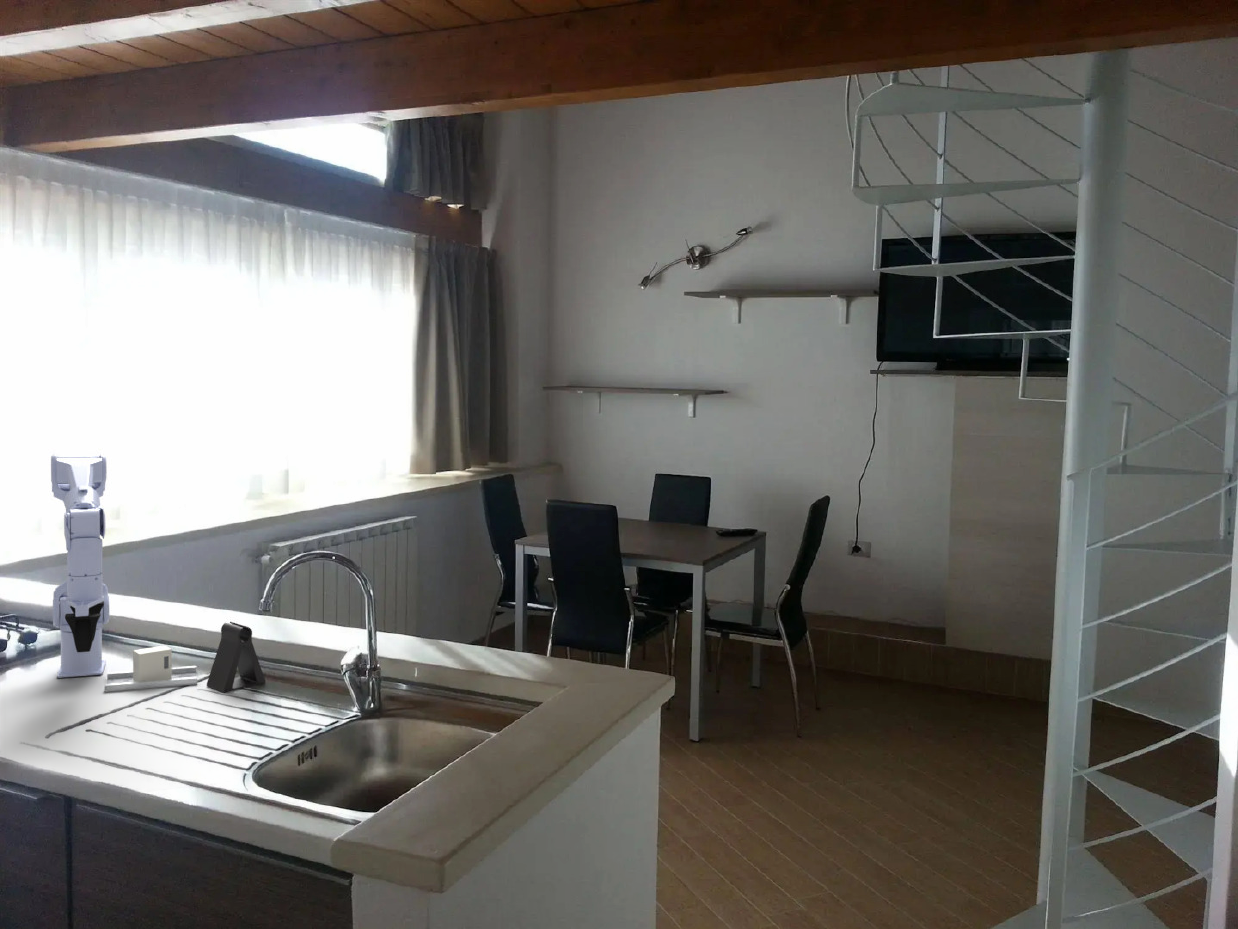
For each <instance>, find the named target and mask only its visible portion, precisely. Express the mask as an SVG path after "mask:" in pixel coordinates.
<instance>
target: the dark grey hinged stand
mask: <svg viewBox="0 0 1238 929" xmlns="http://www.w3.org/2000/svg"><path fill="white" fill-rule="evenodd" d="M220 634H221V636H220V638H221V639H220V641H219V645H218V648H217V651H216V654H215V657H214V659H213V663H212V667H211V668H210V669H211V670H210V672H209V675H208V679H207V682H206V687H208V688H210V689H213V690H215V691H219V692H221V693H224V694H226V693H230V692H235V691H238V690H243V689H245V688H251V687H254V686H255V687H256V686H258V685H263V684H265V683H266V678H265V675H264V673H263V670H262V667H261V664H260V661H259V659H258V655H257V652H256V650H255V646H254V644H253V640H252V639H253V638H252V637H253V630H252V628H250V627H249V626H246V625H242V624H239V623H235V622H233V621H229V623H228V622H224V623H223V624H222V626H221V628H220ZM237 669H238V673H239V676H238V677H236V674H237Z"/></svg>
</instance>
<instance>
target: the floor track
mask: <svg viewBox="0 0 1238 929" xmlns="http://www.w3.org/2000/svg"><path fill="white" fill-rule="evenodd" d="M106 676H107V677H106V683H104V692H105V693H108V692H120V691H131V690H132V691H134V690H143V689H144V690H145V689H158V688H168V687H178V686H179V687H180V686H181V687H182V686H191V685H193V686H194V685H198V675H197V665H190V666H189V665H188V666H187V665H185V666H176V667H175V666H174V667H172V679H160V680H148V681H133V670H122V671H110V672H109V671H108V672H107V673H106Z"/></svg>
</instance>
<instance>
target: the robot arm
mask: <svg viewBox="0 0 1238 929" xmlns="http://www.w3.org/2000/svg"><path fill="white" fill-rule="evenodd" d="M50 481H51V492H52V493H53V497H54V498H56V499H58V500H60V501H61V502H63V504H64V508H65V512H64V515H63V532H64V533H63V534H64V540H65V547H66V548H65V549H66V551H67V553H66V556H67V557H66V570H67V571H66V575H67V576H66V578H67V579H66V580H65V581H63V582H62V583H61V584H59V585H58V586H56V587H55V589H54V591H53V594H52V595H53V598H52V624H53V627H55V628H56V629H59V631H60V667H59V668H58V672H57V674H56V678H59V679H60V678H70V677H71V678H75V677H86V676H87V677H88V676H98V675H99V676H101V675H103V674H104V671H105V667H106V662H107V661H106V659H103V654H102V652H103V651H102V650H103V647H102V646H103V644H102V643H103V642H102V641H103V638H102V636H103V631H102V629H103V628H104V625H107V623H109V621H110V596H109V590H108V588H109V587H107V584H105V583H104V582H103V581H104V580H103V578H104V575H103V539H105V535H106V514H105V511H104V507H103V506H101V501H100V500H101V499H100V498H101V497H103V496H104V492H105V490H106V481H107V457H106V455H105V454H104V453H100V454H96V453H95V454H93V453H92V454H91V453H90V454H85V453H84V454H81V453H79V454H78V453H77V454H67V453H66V454H58V453H53V454H52V455H51V456H50ZM100 536H101V537H102V538H101V537H100Z"/></svg>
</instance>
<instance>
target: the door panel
mask: <svg viewBox="0 0 1238 929" xmlns="http://www.w3.org/2000/svg"><path fill="white" fill-rule="evenodd" d="M172 651H173V650H172V648H170V647H168V646H167V645H158V646H153V647H152V646H151V647H145V648H139V649H134V650H132V655H133V656H132V661H133V662H132V663H133V665H132V671H133V681H148V680H160V679H172V668H173V667H172V664H173V662H172V656H173V654H172Z"/></svg>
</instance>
